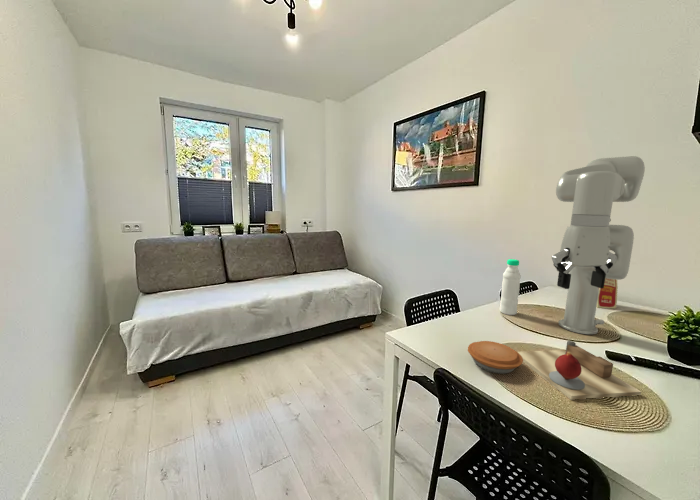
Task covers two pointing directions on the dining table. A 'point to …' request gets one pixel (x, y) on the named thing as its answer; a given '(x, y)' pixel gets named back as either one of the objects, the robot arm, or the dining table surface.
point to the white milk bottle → (510, 288)
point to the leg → (589, 360)
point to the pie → (494, 356)
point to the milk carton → (608, 294)
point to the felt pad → (566, 381)
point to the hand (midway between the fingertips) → (580, 287)
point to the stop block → (608, 362)
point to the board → (593, 383)
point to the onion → (568, 366)
